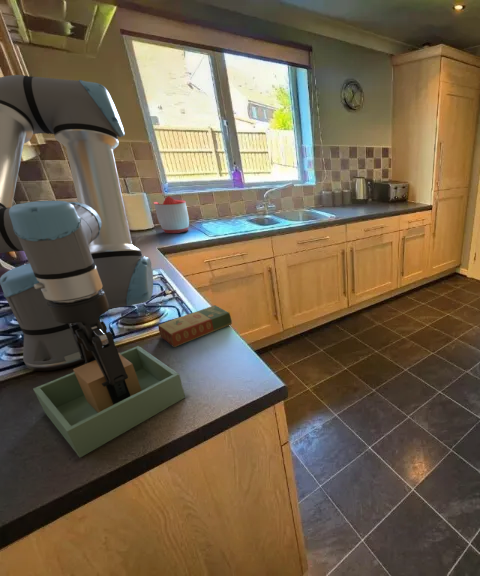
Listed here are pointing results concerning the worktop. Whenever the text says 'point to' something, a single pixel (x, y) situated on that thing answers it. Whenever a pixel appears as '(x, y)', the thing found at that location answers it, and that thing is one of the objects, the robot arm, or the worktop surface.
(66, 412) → the basket
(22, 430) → the worktop surface
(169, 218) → the citrus juicer
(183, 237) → the worktop surface
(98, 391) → the box
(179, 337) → the carton
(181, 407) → the worktop surface
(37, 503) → the worktop surface
